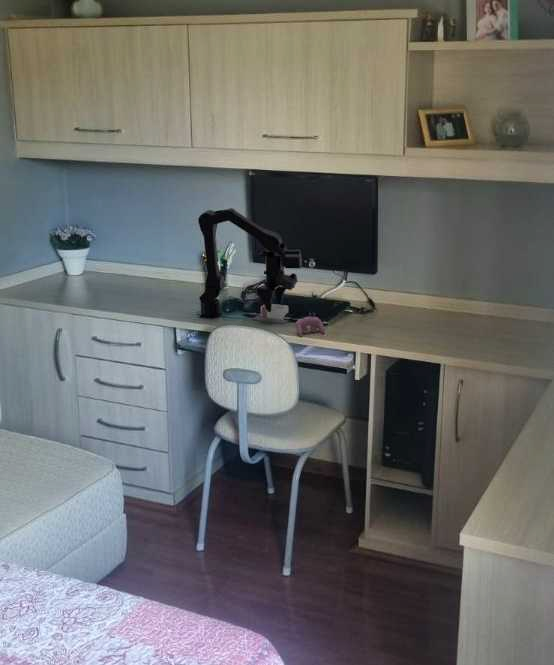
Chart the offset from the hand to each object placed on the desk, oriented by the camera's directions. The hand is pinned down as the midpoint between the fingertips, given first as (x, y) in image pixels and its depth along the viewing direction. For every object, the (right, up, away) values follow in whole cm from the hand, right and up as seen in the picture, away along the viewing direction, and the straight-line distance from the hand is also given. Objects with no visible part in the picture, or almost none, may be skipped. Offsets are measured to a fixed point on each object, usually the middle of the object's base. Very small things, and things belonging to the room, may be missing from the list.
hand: (274, 308), depth 328 cm
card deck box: (0, -3, +1) cm, 3 cm away
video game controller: (+13, -10, -17) cm, 23 cm away
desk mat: (0, -3, +1) cm, 4 cm away
